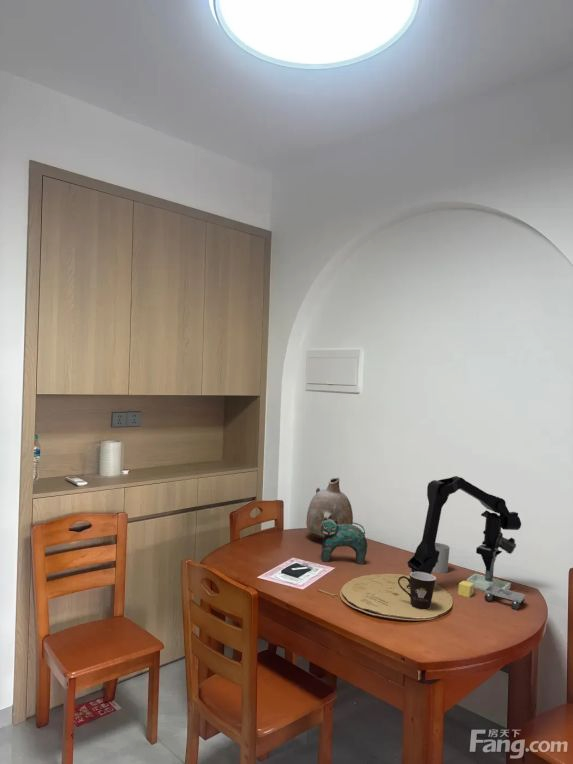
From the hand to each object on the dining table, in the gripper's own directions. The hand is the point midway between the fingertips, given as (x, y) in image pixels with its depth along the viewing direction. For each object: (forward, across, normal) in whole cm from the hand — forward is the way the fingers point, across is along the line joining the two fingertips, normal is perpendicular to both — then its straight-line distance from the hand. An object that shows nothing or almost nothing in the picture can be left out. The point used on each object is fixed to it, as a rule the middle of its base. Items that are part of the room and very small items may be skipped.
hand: (489, 569), depth 210 cm
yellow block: (+7, -14, +4) cm, 17 cm away
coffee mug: (+7, -39, +13) cm, 42 cm away
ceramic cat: (+7, -19, +54) cm, 58 cm away
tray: (+7, 0, 0) cm, 7 cm away
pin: (+4, 0, 0) cm, 4 cm away
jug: (+7, +3, +74) cm, 74 cm away
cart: (+7, -11, -9) cm, 16 cm away
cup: (+7, +5, +22) cm, 24 cm away
